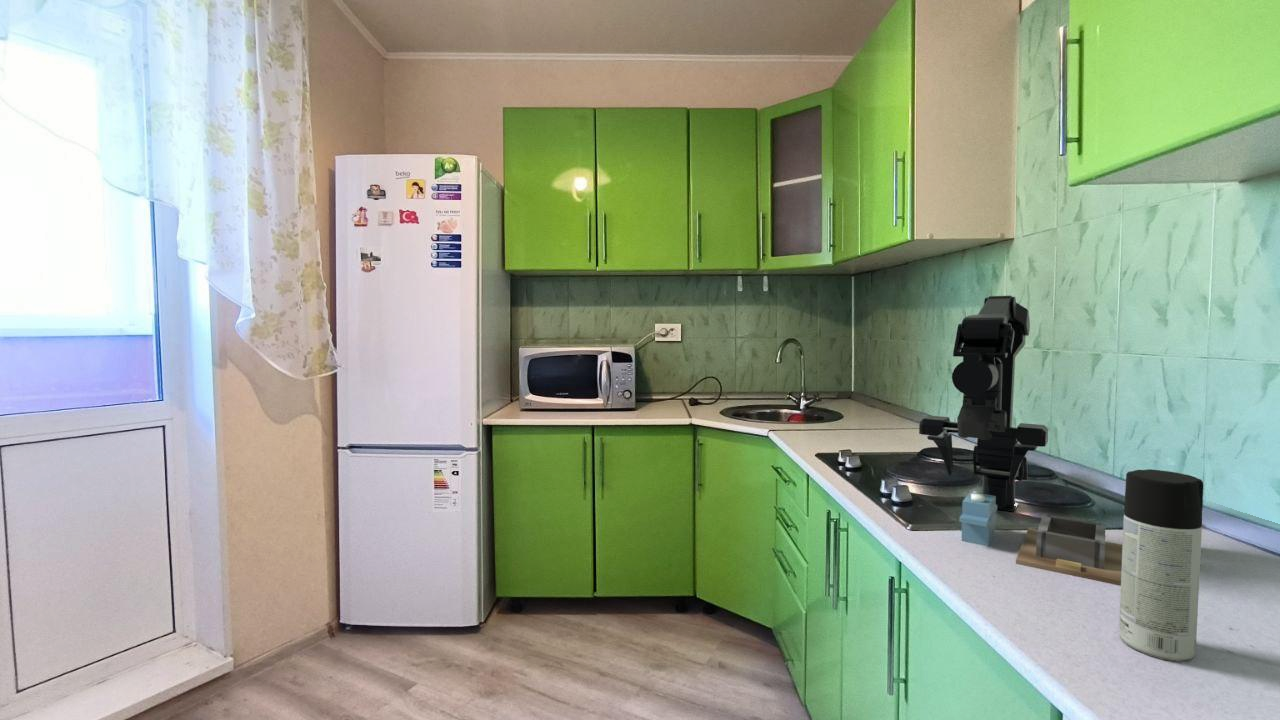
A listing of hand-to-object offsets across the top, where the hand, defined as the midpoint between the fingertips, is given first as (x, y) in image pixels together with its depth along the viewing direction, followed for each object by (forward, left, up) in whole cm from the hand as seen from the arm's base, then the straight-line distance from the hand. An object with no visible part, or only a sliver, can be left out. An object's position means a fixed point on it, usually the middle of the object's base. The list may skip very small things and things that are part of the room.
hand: (980, 479), depth 101 cm
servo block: (0, 0, -10) cm, 10 cm away
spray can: (+27, +22, -11) cm, 36 cm away
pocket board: (0, +13, -10) cm, 17 cm away
